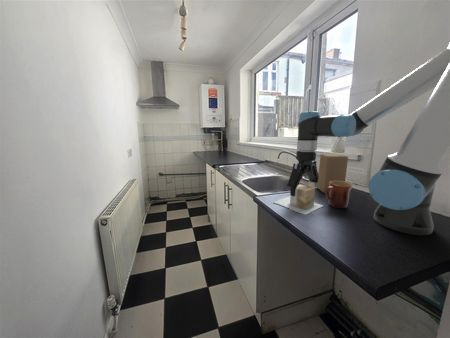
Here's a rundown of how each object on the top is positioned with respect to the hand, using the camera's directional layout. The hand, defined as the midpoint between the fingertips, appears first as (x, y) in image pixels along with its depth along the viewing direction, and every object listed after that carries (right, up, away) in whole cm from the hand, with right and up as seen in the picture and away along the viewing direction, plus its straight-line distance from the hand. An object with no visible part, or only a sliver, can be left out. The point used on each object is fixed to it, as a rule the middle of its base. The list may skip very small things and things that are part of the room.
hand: (302, 199), depth 81 cm
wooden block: (+23, +1, +20) cm, 30 cm away
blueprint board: (-1, -3, +2) cm, 4 cm away
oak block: (0, -3, +1) cm, 3 cm away
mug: (+14, -3, 0) cm, 15 cm away
